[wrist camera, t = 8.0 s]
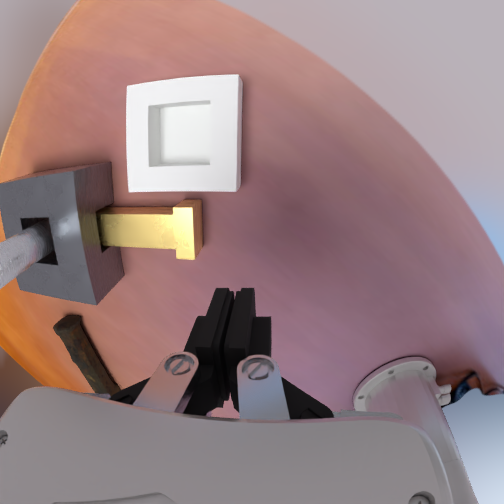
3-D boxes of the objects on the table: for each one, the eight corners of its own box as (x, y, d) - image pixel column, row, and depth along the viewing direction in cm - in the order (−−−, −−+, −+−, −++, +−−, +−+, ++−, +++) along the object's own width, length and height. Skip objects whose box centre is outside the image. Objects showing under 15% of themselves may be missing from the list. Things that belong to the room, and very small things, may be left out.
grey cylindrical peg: (81, 207, 25) (-9, 256, 13) (85, 235, 27) (3, 294, 15) (60, 207, 26) (-26, 253, 14) (65, 235, 27) (-15, 289, 15)
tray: (242, 82, 20) (238, 74, 17) (240, 185, 24) (236, 191, 21) (142, 90, 21) (127, 86, 18) (143, 185, 24) (128, 192, 21)
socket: (110, 161, 23) (73, 171, 18) (124, 275, 28) (96, 305, 22) (33, 173, 24) (-4, 184, 19) (49, 267, 29) (20, 289, 23)
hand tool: (63, 311, 32) (45, 330, 27) (82, 312, 31) (64, 333, 27) (114, 401, 39) (104, 421, 35) (133, 405, 38) (124, 426, 34)
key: (201, 199, 24) (192, 207, 21) (203, 246, 26) (194, 259, 23) (86, 201, 25) (69, 209, 22) (91, 241, 27) (76, 252, 24)
